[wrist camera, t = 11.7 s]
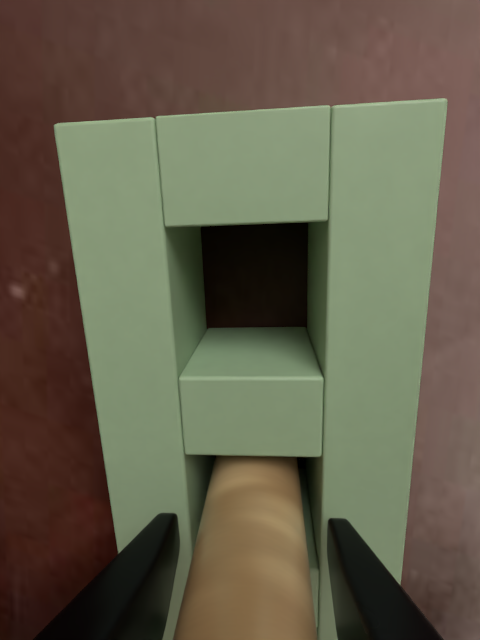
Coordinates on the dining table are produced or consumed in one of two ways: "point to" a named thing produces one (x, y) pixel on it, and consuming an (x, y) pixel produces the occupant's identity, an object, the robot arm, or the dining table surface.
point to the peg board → (258, 342)
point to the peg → (250, 556)
